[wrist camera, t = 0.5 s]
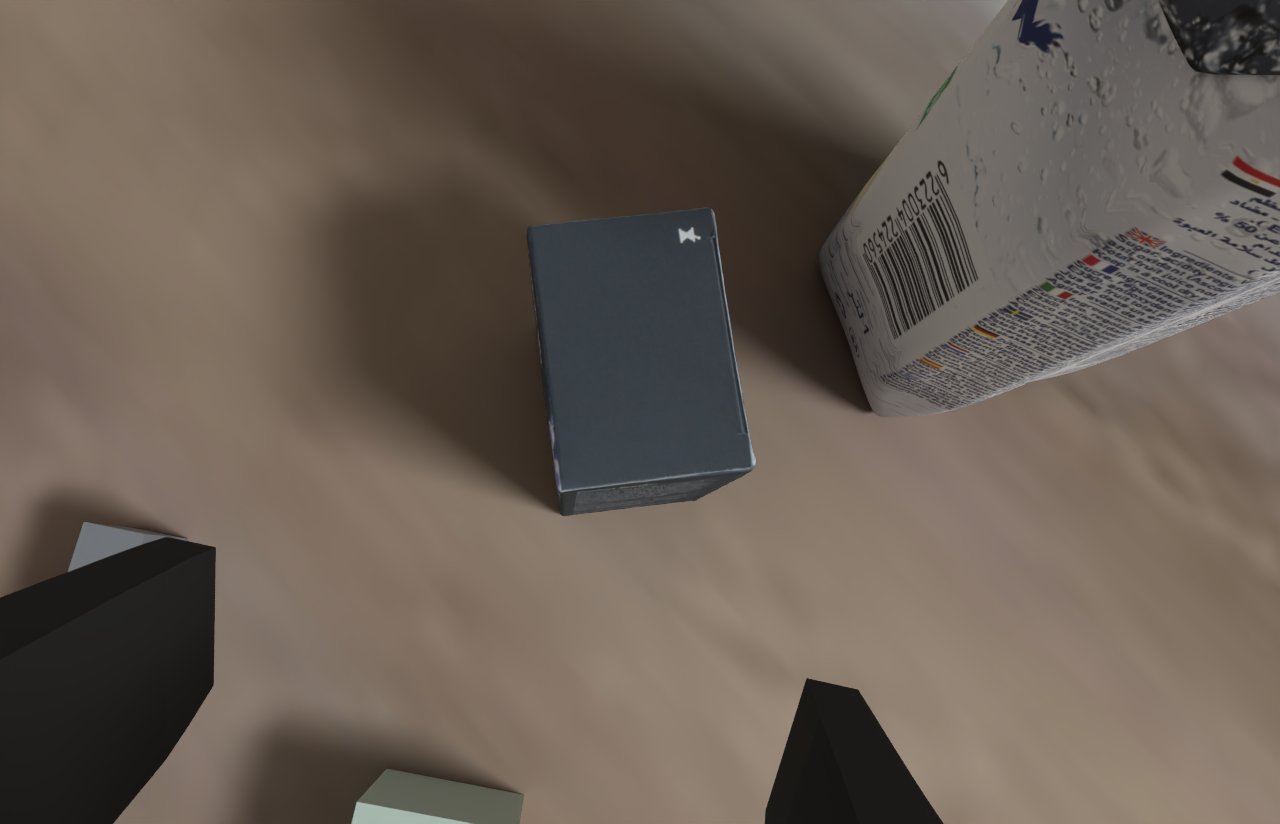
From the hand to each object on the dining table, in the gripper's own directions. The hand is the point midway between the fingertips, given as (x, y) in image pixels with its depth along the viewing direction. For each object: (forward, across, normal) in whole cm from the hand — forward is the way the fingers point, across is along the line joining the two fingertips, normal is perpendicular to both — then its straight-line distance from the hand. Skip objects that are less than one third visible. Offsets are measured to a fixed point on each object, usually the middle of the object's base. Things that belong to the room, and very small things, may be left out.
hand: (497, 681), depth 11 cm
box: (+24, +1, +6) cm, 25 cm away
